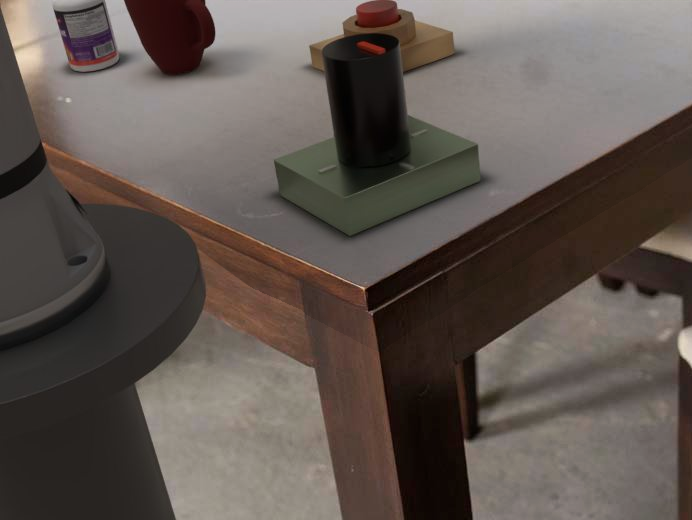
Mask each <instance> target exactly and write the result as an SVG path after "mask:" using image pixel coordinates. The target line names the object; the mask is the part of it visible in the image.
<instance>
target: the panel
mask: <svg viewBox="0 0 692 520" xmlns="http://www.w3.org/2000/svg"><path fill="white" fill-rule="evenodd" d="M408 123H409V132H410V141H411V150H410V152H409V153H408V154H407V155H406V156H404V157H403V158H401V159H399V160H397V161H394V162H391V163H388V164H384V165H379V166H370V167H358V166H351V165H347V164H345V163H343V162H341V161H340V160H339V159H338V157H337V151H336V144H335V138H334V136H333V137H331V138H327V139H325V140H322V141H320V142H317V143H314V144H312V145H309V146H306V147H304V148H301V149H298V150H295V151H293V152H290V153H288V154H285V155H283V156H279V157H277V158H275V159H273V165H274V170H275V176H276V180H277V186H278V191H279V195H280V196H281V197H282V198H284V199H286V200H287V201H289V202H291V203H293V204H294V205H295V206H297V207H299V208H301V209H302V210H304V211H307V212H308V213H310V214H311V215H313V216H314V217H317V218H318V219H320V220H322V221H323V222H325V223H327V224H328V225H330V226H331V227H333V228H335V229H337V230H338V231H340V232H342V233H344V234H346V235H347V236H349V237H352V236H355V235H356V234H359V233H361V232H364V231H366V230H368V229H371V228H373V227H375V226H377V225H379V224H382V223H385V222H387V221H389V220H392V219H393V218H396V217H399V216H401V215H403V214H406V213H408V212H410V211H412V210H413V211H414V210H415V209H418V208H420V207H422V206H425V205H427V204H429V203H431V202H434V201H437V200H439V199H441V198H444V197H446V196H448V195H451V194H453V193H455V192H457V191H460V190H462V189H464V188H467V187H470V186H472V185H475V184H477V183H480V182H481V180H482V179H481V166H480V153H479V144H478V143H476V142H474V141H472V140H469V139H467V138H465V137H462V136H460V135H457V134H454V133H453V132H450V131H447V130H445V129H443V128H440V127H438V126H436V125H433V124H431V123H428V122H426V121H424V120H421V119H419V118H416V117H414V116H412V115H409V114H408Z"/></svg>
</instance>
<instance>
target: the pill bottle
mask: <svg viewBox="0 0 692 520" xmlns="http://www.w3.org/2000/svg"><path fill="white" fill-rule="evenodd" d="M51 4H52V9H53V13H54V16H55V19H56V23H57V26H58V31H59V33H60V36H61V37H60V38H61V40H62V44H63V47H64V50H65V55H66V57H67V61H68V63H69V66H70V69H72V70H73V71H75V72H79V73H80V72H82V73H83V72H84V73H87V72H93V71H99V70H103V69H107V68H109V67H111V66H114V65H115V64H116V63H117V62H118V61H119V60H120V53H119V49H118V45H117V41H116V38H115V33H114V30H113V26H112V22H111V18H110V15H109V10H108V7H107V3H106V0H52V3H51Z"/></svg>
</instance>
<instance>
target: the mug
mask: <svg viewBox="0 0 692 520" xmlns="http://www.w3.org/2000/svg"><path fill="white" fill-rule="evenodd" d="M123 1H124V5H125V8H126V11H127V12H128V16H129V18H130V20H131V22H132V24H133V26H134V29H135V31H136V34H137V36H138V38H139V40H140V44H141V45H142V47H143V49H144V51H145V53H146V54H147V55H148V57H149V58H150V59H151V60H152V62H153V63H154V65H156V66H157V68H158V69H159V70H160V71H161V72H162V73H163V74H166V75H172V76H173V75H182V74H187V73H190V72H193V71H195V70H197V69H198V68H199V67H201V63H202V61H203V60H202V59H203V56H204V53H205V50H206V49H208V48H210V47H211V46H212V45H213V44H214V42H215V39H216V25H215V22H214V17H213V16H212V14H211V12H210V10H209V8H208V6H206V0H123Z"/></svg>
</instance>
